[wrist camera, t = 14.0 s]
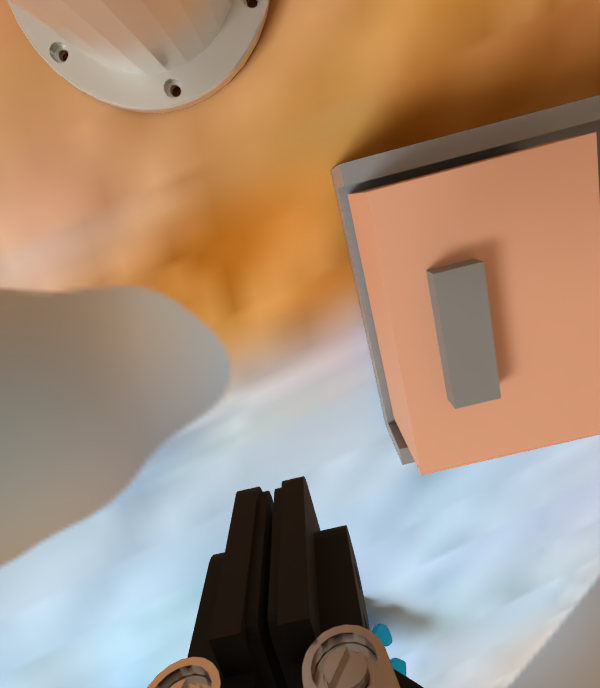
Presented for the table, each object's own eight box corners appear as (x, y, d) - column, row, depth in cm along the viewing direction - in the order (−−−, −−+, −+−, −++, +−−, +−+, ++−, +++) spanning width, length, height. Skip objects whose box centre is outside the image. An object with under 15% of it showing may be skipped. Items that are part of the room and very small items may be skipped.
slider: (520, 148, 23) (613, 128, 17) (542, 382, 27) (626, 442, 20) (347, 194, 24) (370, 192, 17) (393, 417, 28) (427, 487, 21)
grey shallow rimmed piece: (708, 69, 24) (800, 41, 20) (702, 352, 29) (775, 379, 24) (330, 170, 25) (339, 164, 21) (385, 426, 30) (402, 464, 25)
